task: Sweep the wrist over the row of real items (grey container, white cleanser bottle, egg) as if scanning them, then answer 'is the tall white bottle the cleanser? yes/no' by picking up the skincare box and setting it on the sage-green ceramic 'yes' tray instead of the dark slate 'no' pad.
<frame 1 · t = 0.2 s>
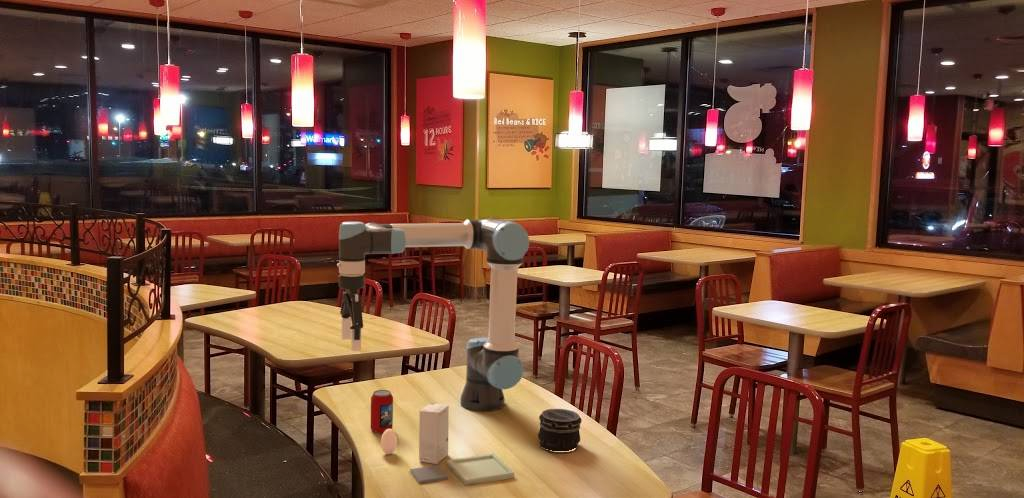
hand: (351, 344, 236), 28 cm above the table, fingers open, 13 cm apart
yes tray: (480, 471, 217), on the table
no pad: (428, 475, 213), on the table
beverage can: (381, 430, 245), on the table
skincare box: (433, 458, 225), on the table
egg: (388, 454, 226), on the table
container: (558, 447, 237), on the table
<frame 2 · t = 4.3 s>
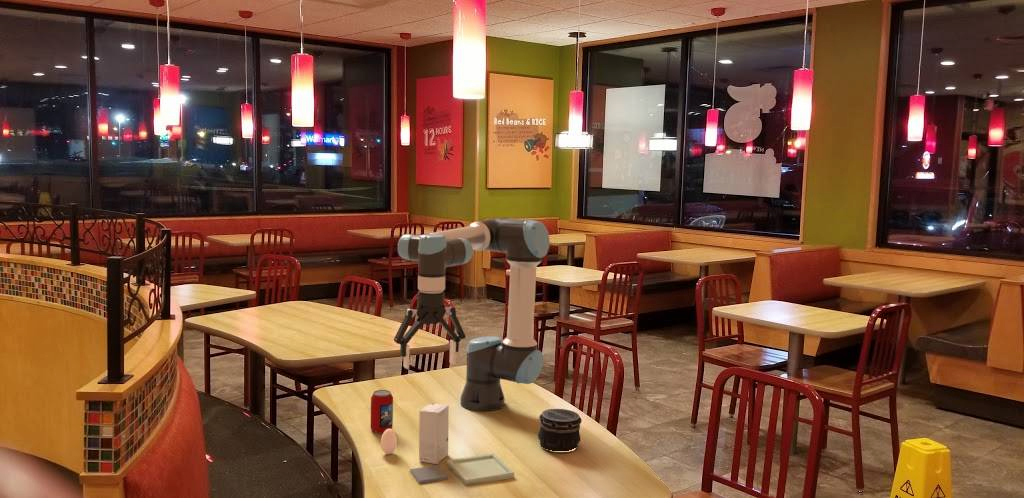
hand: (429, 365, 221), 27 cm above the table, fingers open, 13 cm apart
nothing on the table moved.
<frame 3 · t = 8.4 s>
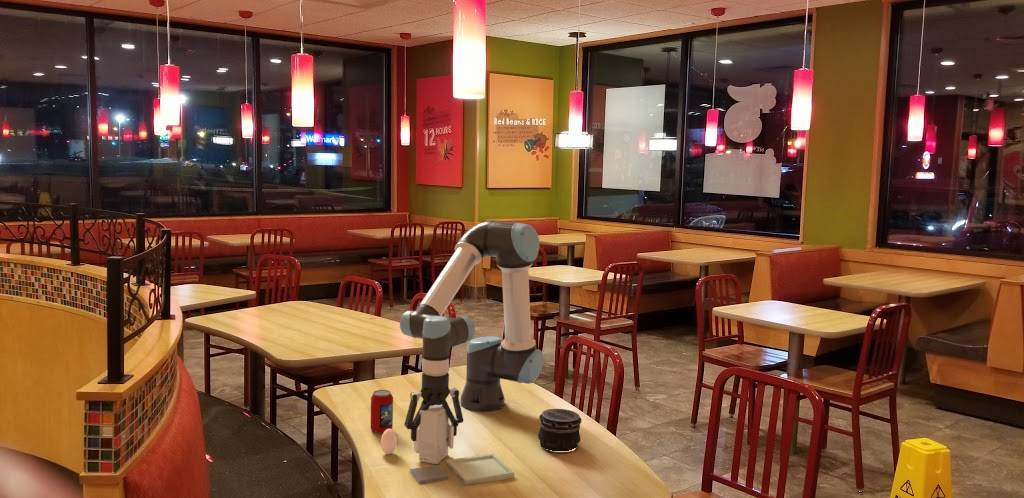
hand: (433, 449, 224), 3 cm above the table, fingers closed on skincare box, 9 cm apart
skincare box: (433, 458, 225), on the table, touching gripper
everything else where it was.
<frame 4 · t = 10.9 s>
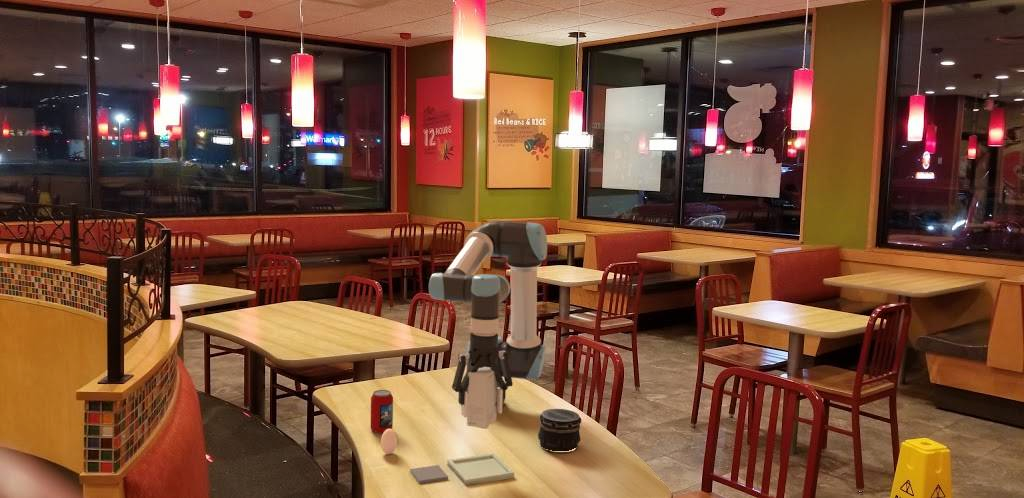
hand: (481, 413, 214), 16 cm above the table, fingers closed on skincare box, 9 cm apart
skincare box: (481, 423, 215), point 14 cm above the table, touching gripper
everything else where it was.
when the fingers open (5 cm above the table, at t = 13.4 s): skincare box drops 1 cm, resting on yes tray.
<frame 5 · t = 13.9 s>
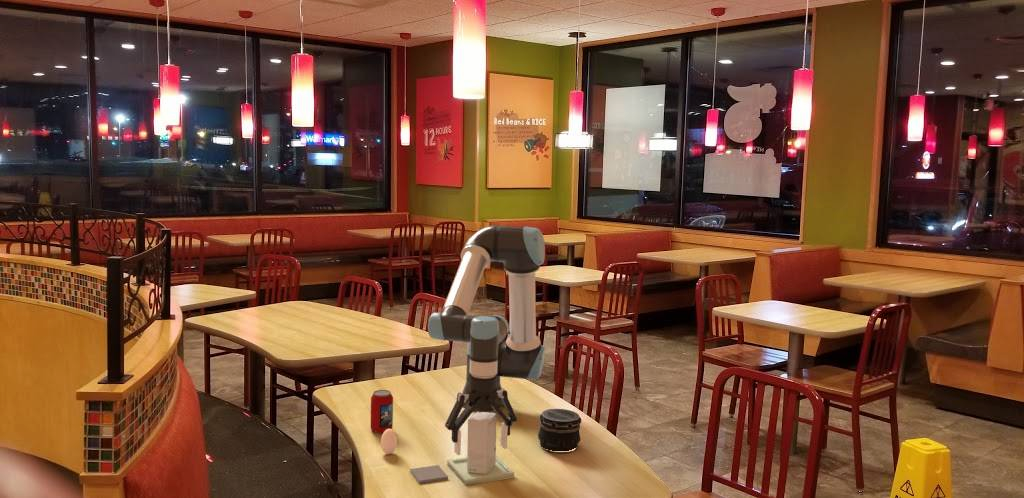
hand: (480, 450, 216), 6 cm above the table, fingers open, 13 cm apart
skincare box: (481, 469, 217), point 1 cm above the table, touching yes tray
everything else where it was.
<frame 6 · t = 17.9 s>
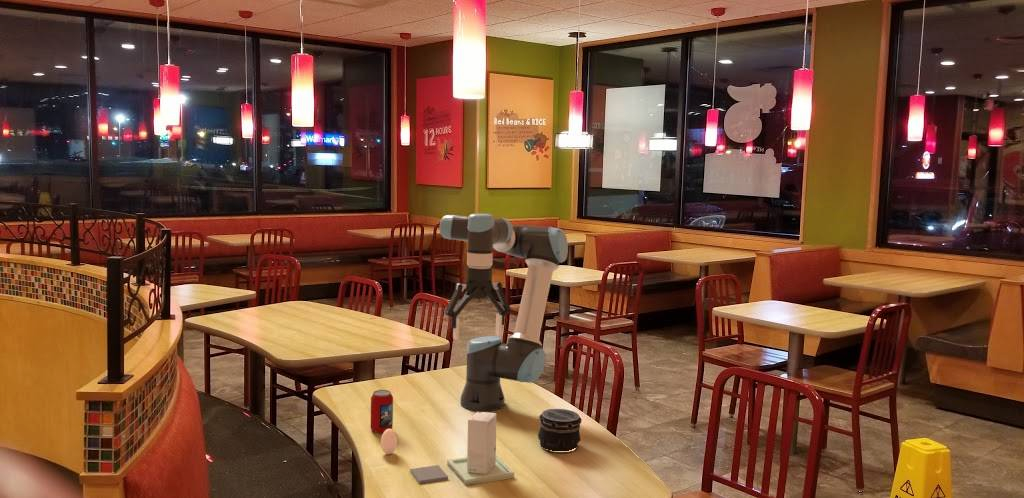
hand: (477, 337, 235), 32 cm above the table, fingers open, 13 cm apart
nothing on the table moved.
at the end: skincare box inside the target area on the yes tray (0.3 cm from its centre), point 0.6 cm above the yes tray's base; skincare box tilted 0°; the gripper is holding nothing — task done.
